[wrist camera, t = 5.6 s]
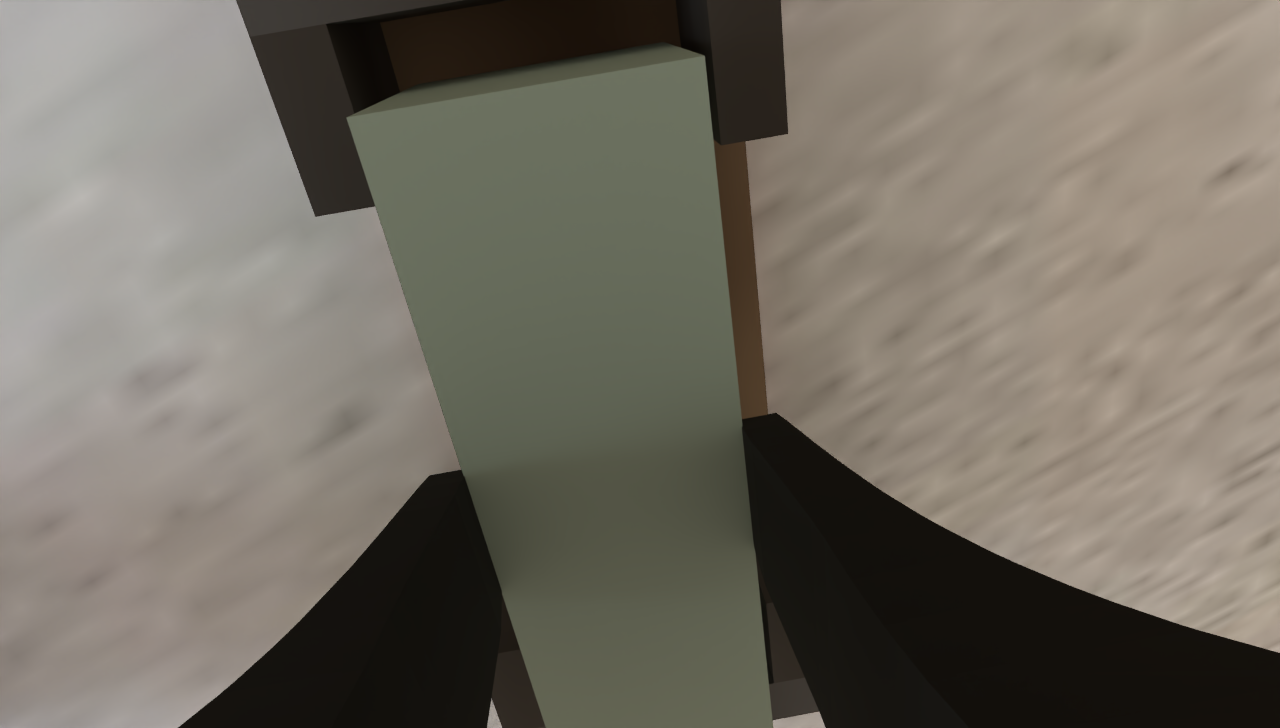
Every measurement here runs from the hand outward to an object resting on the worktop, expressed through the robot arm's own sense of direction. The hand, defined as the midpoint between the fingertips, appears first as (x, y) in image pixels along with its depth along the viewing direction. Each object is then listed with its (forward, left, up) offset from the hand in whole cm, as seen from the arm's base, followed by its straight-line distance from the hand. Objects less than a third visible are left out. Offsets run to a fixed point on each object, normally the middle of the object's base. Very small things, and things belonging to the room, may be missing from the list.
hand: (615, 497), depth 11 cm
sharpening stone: (0, 0, -4) cm, 4 cm away
